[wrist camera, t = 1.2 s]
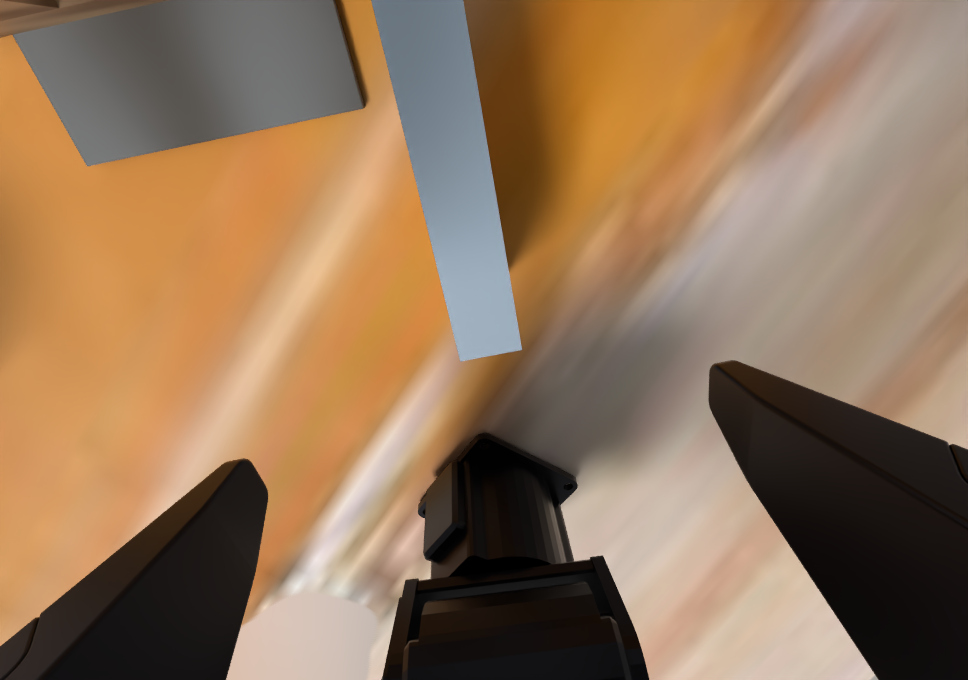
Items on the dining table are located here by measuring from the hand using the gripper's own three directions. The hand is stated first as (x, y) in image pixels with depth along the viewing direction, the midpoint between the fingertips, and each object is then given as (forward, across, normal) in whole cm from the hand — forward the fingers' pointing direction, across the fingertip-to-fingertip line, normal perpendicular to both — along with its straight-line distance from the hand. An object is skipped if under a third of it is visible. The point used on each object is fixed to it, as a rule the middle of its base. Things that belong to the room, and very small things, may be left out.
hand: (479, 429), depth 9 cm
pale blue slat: (+12, 0, -4) cm, 13 cm away
